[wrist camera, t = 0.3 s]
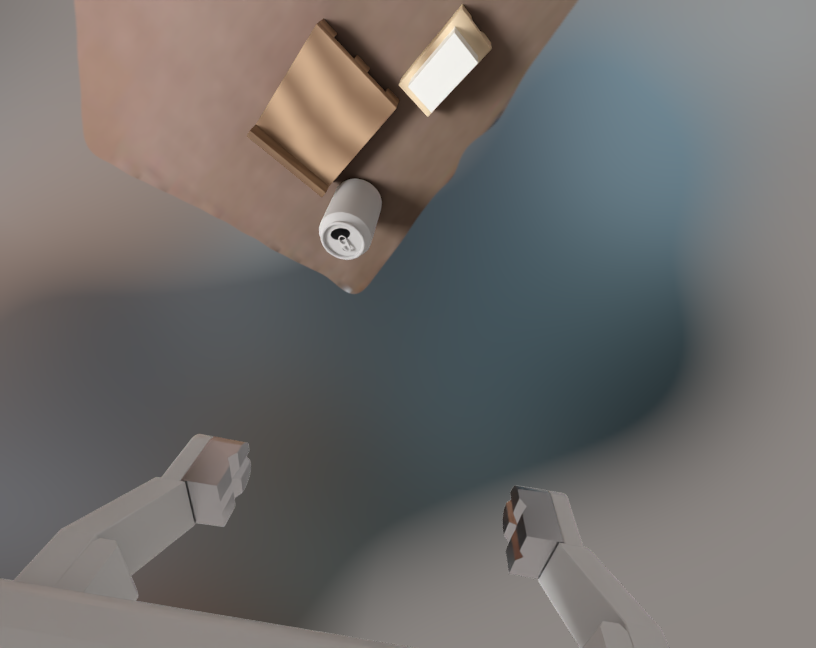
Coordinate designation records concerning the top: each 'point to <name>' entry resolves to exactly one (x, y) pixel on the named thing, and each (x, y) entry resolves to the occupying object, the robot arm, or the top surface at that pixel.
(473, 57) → the white rectangular block
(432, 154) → the top surface
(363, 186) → the can
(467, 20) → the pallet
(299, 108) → the dock
